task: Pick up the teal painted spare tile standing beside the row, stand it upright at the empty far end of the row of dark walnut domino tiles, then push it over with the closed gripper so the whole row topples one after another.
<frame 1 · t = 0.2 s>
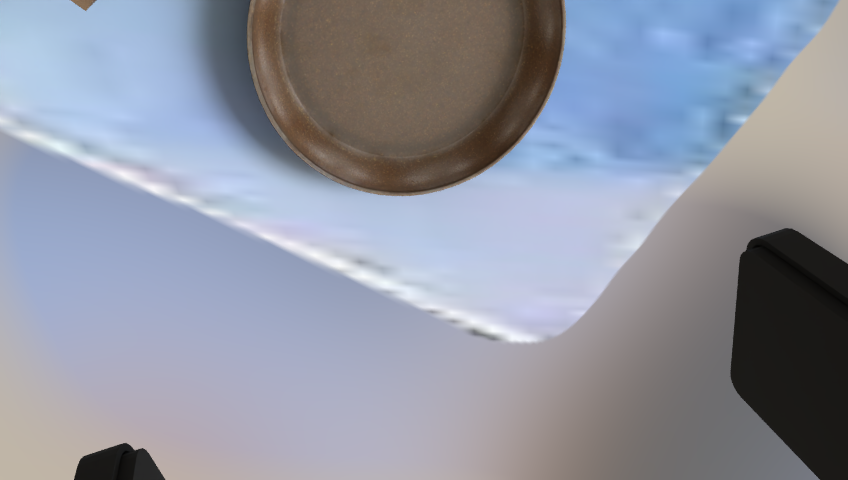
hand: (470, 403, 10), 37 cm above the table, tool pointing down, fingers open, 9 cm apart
plant saucer: (403, 37, 44), on the table
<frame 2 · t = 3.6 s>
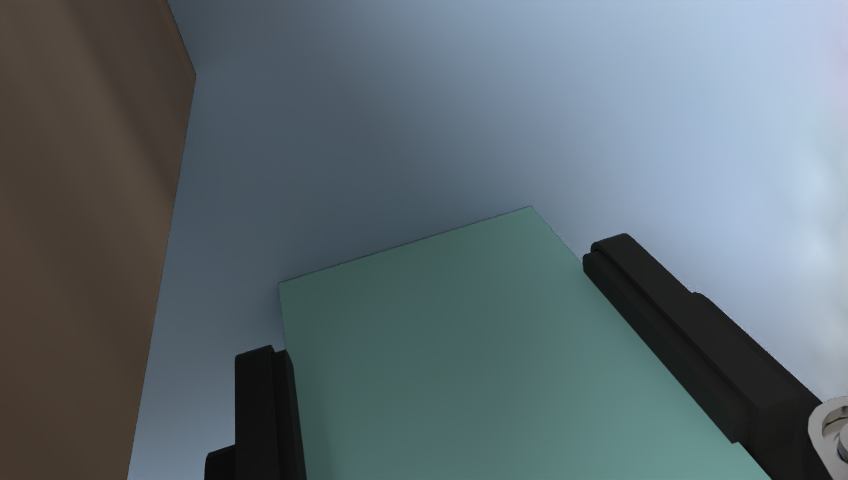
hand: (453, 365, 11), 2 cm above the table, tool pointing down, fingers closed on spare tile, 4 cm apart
spare tile: (418, 285, 13), on the table, touching gripper
when the fingers open (3 cm above the table, at t = 8.6 s): spare tile stays where it is, on the table.
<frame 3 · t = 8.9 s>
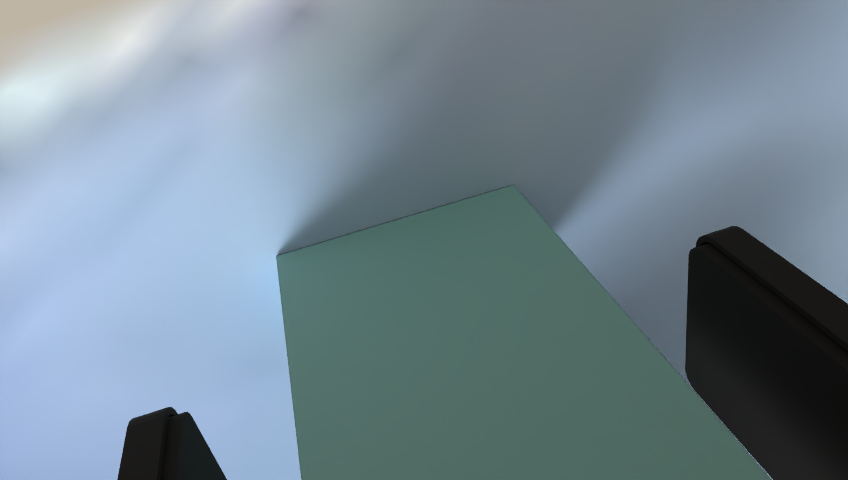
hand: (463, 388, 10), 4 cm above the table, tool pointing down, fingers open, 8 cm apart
spare tile: (407, 259, 14), on the table
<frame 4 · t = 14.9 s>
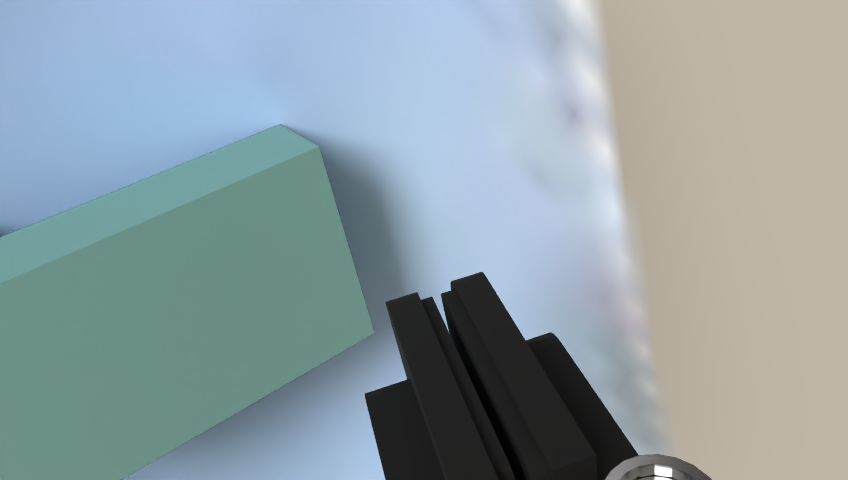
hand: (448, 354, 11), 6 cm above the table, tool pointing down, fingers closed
spare tile: (329, 232, 15), point 1 cm above the table, tilted 70°, touching domino 1
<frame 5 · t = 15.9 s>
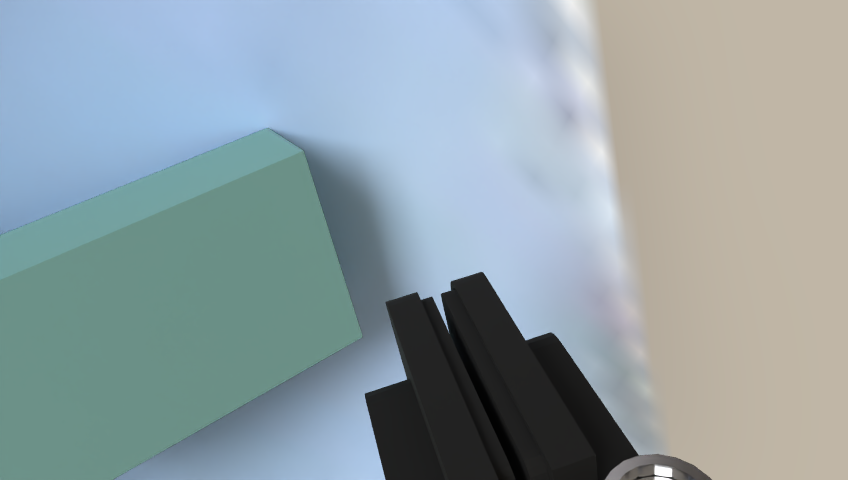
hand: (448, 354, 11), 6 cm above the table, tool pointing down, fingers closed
spare tile: (316, 236, 15), point 1 cm above the table, tilted 71°, touching domino 1
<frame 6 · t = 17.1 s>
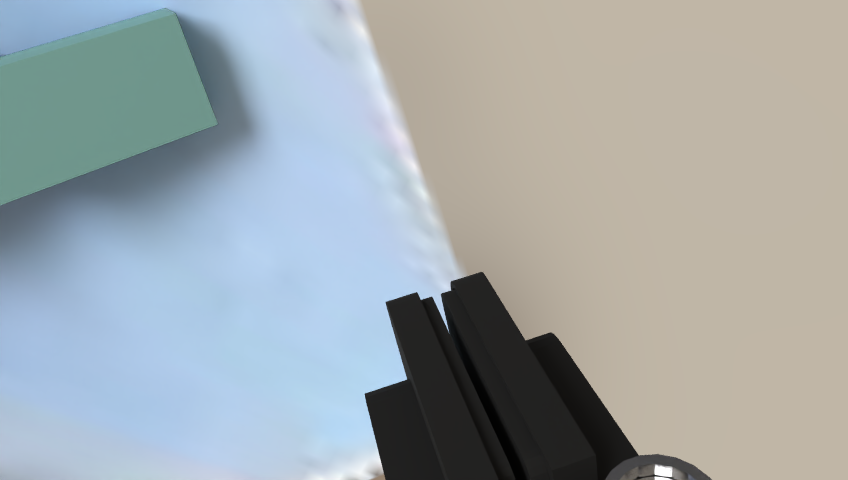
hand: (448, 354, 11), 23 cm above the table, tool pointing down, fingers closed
spare tile: (192, 67, 29), point 1 cm above the table, tilted 72°, touching domino 1
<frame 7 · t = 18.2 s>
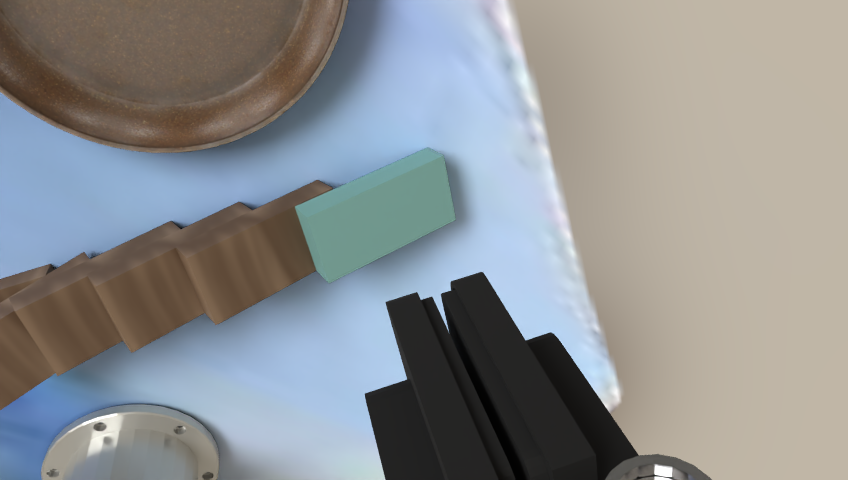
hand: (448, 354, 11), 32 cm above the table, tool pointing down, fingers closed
domino 5: (68, 297, 43), on the table, tilted 90°, touching domino 4
spare tile: (441, 184, 45), point 1 cm above the table, tilted 72°, touching domino 1
domino 2: (257, 238, 43), point 1 cm above the table, tilted 65°, touching domino 3
domino 4: (110, 286, 42), point 1 cm above the table, tilted 66°, touching domino 5
domino 1: (333, 216, 44), point 1 cm above the table, tilted 66°, touching spare tile
domino 3: (190, 257, 43), point 1 cm above the table, tilted 65°, touching domino 2
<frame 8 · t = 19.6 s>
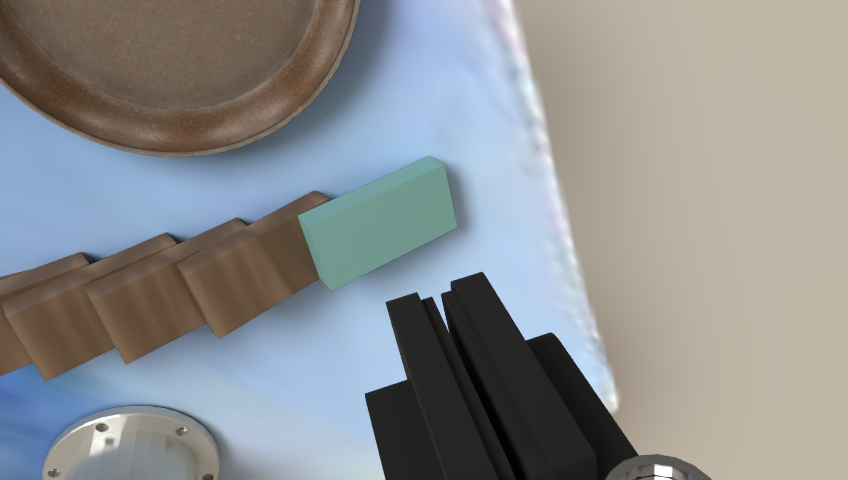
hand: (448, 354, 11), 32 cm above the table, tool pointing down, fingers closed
spare tile: (443, 191, 45), point 1 cm above the table, tilted 73°, touching domino 1
domino 2: (253, 253, 44), point 1 cm above the table, tilted 66°, touching domino 1, domino 3
domino 4: (98, 290, 42), point 1 cm above the table, tilted 66°
domino 1: (332, 225, 44), point 1 cm above the table, tilted 67°, touching domino 2, spare tile
domino 3: (184, 269, 43), point 1 cm above the table, tilted 66°, touching domino 2
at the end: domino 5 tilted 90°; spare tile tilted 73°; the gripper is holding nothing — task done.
